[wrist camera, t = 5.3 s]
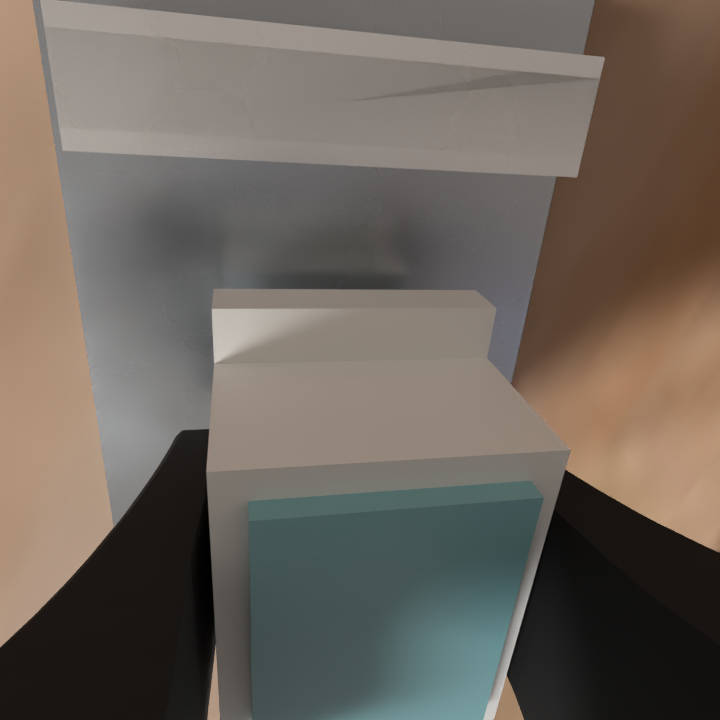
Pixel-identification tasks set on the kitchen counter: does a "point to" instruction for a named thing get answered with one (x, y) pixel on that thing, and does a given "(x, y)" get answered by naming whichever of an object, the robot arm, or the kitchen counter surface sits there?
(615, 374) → the kitchen counter surface
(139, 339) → the plate
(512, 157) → the rail
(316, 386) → the block
